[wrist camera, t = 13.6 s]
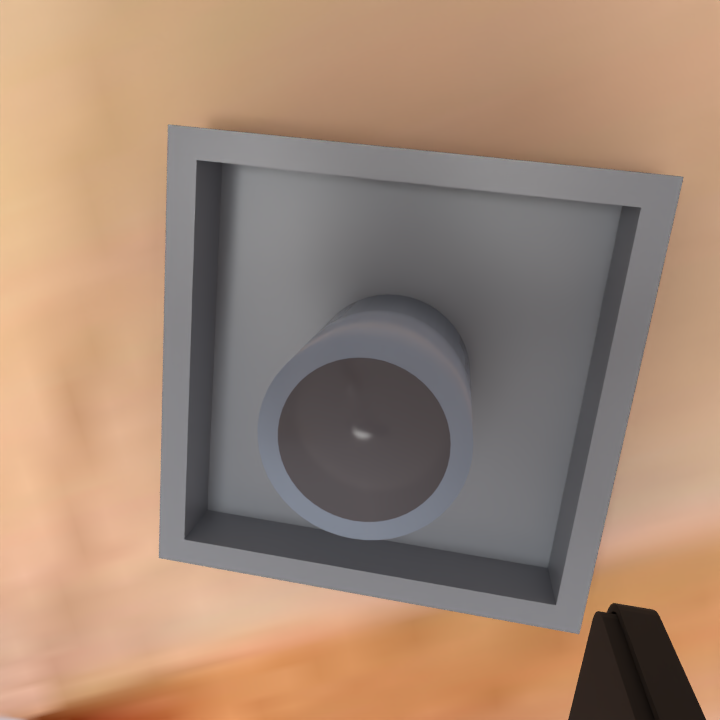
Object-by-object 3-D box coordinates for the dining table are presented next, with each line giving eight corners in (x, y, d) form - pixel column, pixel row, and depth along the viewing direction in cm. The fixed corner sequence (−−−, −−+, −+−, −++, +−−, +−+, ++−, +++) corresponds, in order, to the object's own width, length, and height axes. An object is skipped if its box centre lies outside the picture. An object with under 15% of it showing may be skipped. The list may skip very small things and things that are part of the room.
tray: (202, 131, 24) (167, 124, 21) (655, 177, 22) (683, 176, 20) (189, 520, 29) (158, 557, 26) (566, 585, 27) (579, 634, 24)
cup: (318, 284, 24) (263, 322, 18) (481, 305, 24) (489, 352, 17) (305, 435, 26) (250, 522, 19) (458, 458, 25) (456, 557, 19)
